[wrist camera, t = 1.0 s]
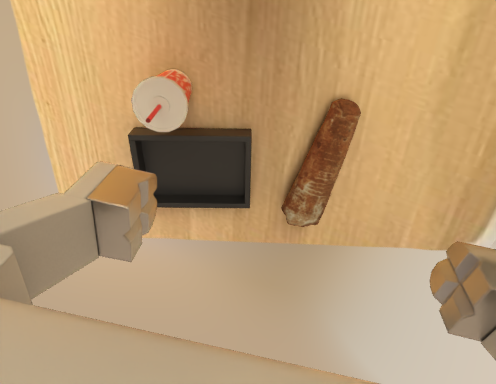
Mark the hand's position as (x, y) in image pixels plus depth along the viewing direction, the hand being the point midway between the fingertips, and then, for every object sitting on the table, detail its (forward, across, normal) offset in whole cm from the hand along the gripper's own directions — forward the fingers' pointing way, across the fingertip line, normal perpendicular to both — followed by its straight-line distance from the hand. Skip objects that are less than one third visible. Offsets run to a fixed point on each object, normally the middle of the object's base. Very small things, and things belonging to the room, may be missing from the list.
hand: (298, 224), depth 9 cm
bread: (+37, -7, +17) cm, 42 cm away
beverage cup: (+35, +14, +10) cm, 40 cm away
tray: (+35, +10, +21) cm, 42 cm away
